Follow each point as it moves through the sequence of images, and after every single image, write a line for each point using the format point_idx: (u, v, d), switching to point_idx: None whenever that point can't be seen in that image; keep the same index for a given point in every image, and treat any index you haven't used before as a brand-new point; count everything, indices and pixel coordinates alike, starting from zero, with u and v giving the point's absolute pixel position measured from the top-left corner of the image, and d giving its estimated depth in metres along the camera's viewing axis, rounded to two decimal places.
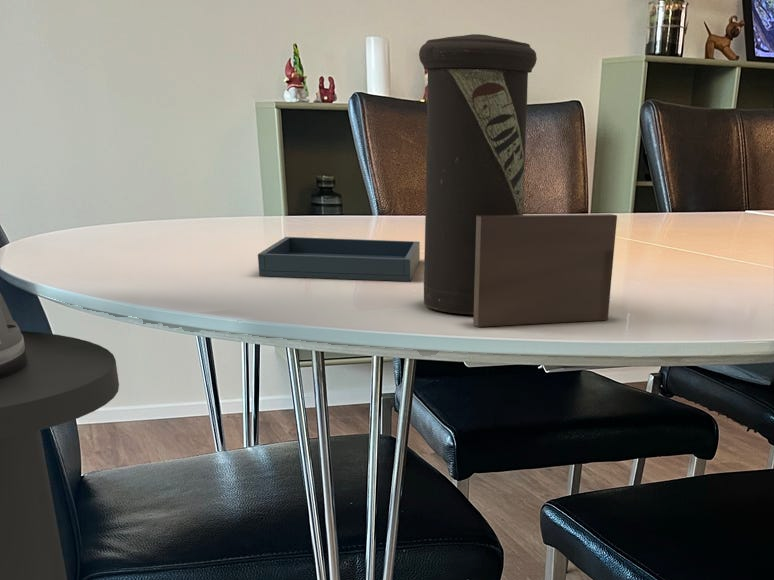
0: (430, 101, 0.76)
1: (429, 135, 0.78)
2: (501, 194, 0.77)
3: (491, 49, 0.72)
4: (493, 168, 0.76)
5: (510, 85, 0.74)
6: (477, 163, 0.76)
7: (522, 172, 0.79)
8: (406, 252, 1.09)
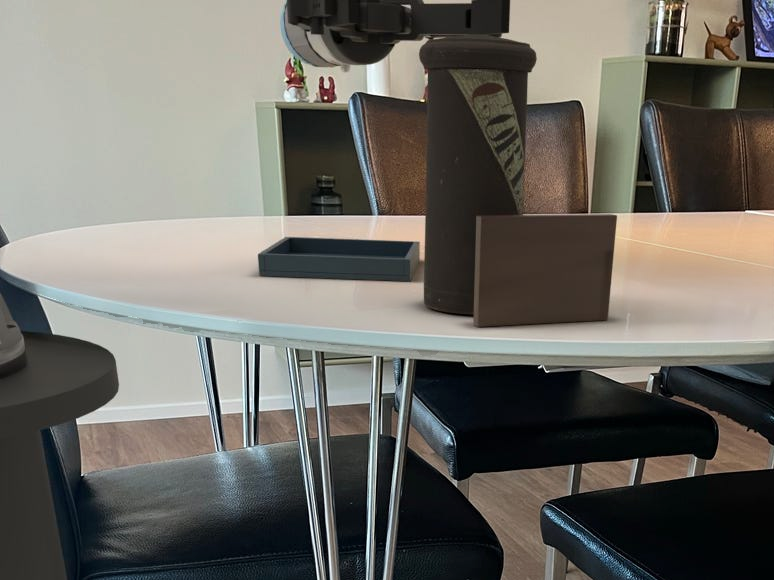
0: (430, 101, 0.76)
1: (429, 135, 0.78)
2: (501, 194, 0.77)
3: (491, 49, 0.72)
4: (493, 168, 0.76)
5: (510, 85, 0.74)
6: (477, 163, 0.76)
7: (522, 172, 0.79)
8: (406, 252, 1.09)
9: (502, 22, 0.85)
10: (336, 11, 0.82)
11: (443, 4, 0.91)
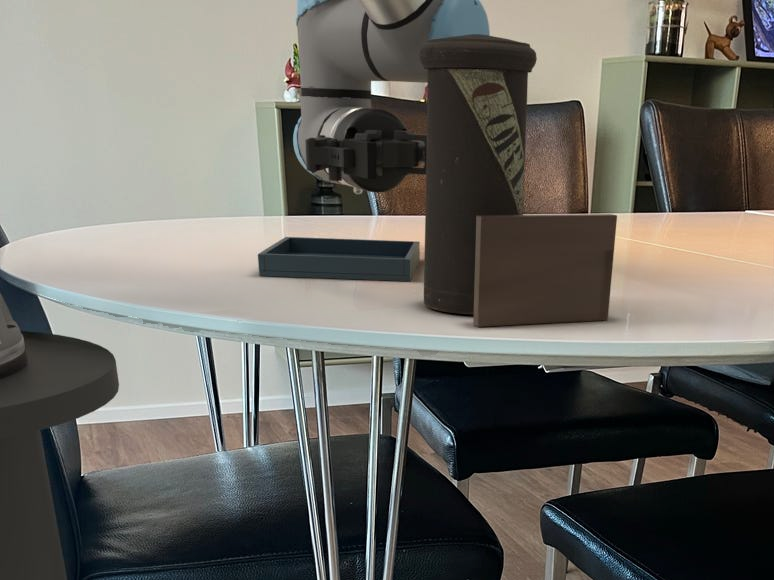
0: (430, 101, 0.76)
1: (429, 135, 0.78)
2: (501, 194, 0.77)
3: (491, 49, 0.72)
4: (493, 168, 0.76)
5: (510, 85, 0.74)
6: (477, 163, 0.76)
7: (522, 172, 0.79)
8: (406, 252, 1.09)
9: None
10: (355, 163, 0.84)
11: None
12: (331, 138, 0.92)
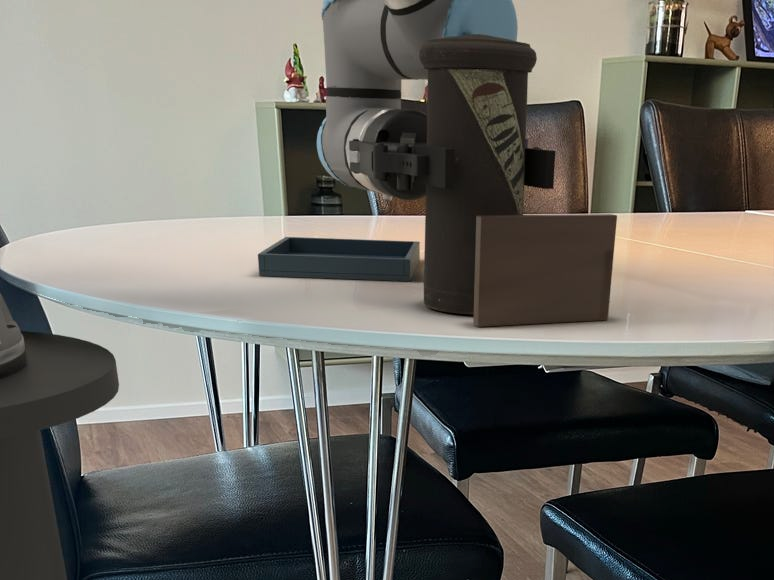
0: (430, 101, 0.76)
1: (429, 135, 0.78)
2: (501, 194, 0.77)
3: (492, 49, 0.72)
4: (493, 169, 0.76)
5: (510, 85, 0.74)
6: (477, 163, 0.76)
7: (522, 172, 0.79)
8: (406, 252, 1.09)
9: (546, 178, 0.78)
10: (429, 171, 0.77)
11: None
12: None
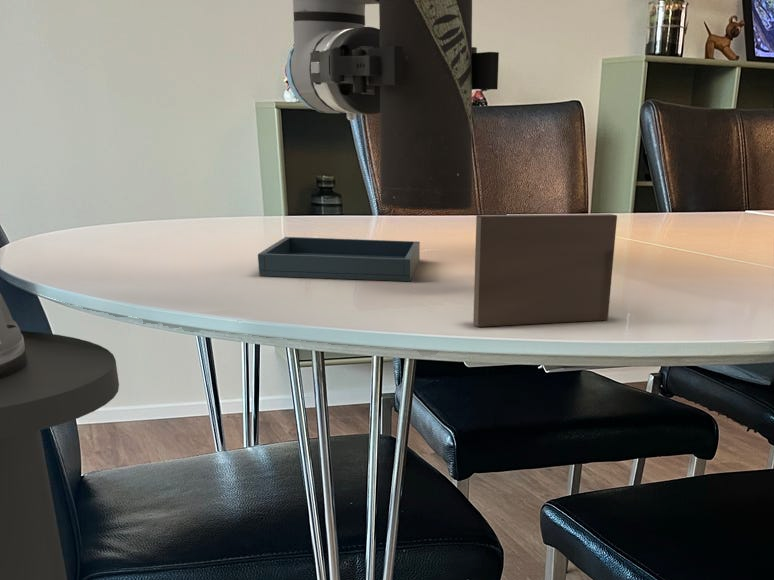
0: (381, 5, 0.82)
1: (381, 38, 0.83)
2: (449, 91, 0.83)
3: None
4: (441, 67, 0.82)
5: None
6: (425, 61, 0.82)
7: (469, 73, 0.84)
8: (406, 252, 1.09)
9: (490, 79, 0.83)
10: (381, 71, 0.82)
11: None
12: None
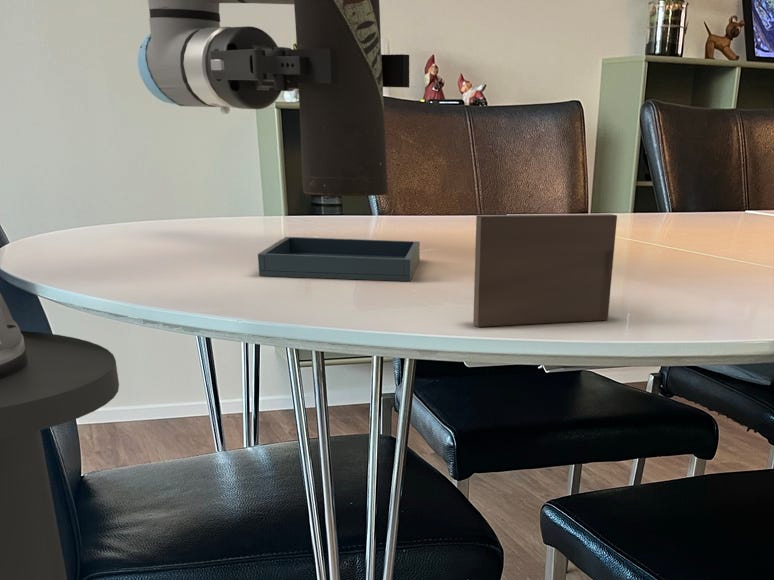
0: (301, 10, 0.90)
1: (302, 40, 0.91)
2: (371, 89, 0.93)
3: None
4: (364, 67, 0.92)
5: None
6: (351, 62, 0.91)
7: None
8: (406, 252, 1.09)
9: (403, 78, 0.94)
10: (309, 71, 0.91)
11: None
12: None
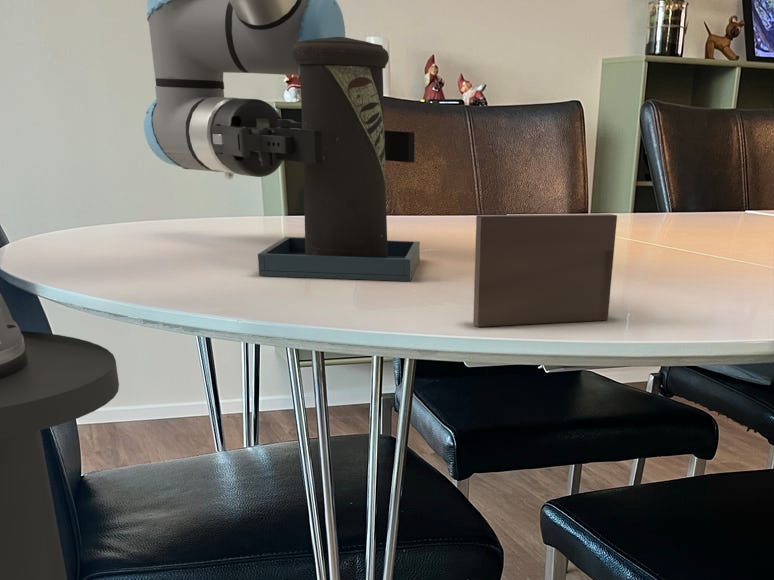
0: (307, 91, 0.93)
1: (308, 119, 0.94)
2: (373, 167, 0.96)
3: (362, 50, 0.90)
4: (367, 146, 0.95)
5: (375, 79, 0.93)
6: (354, 142, 0.94)
7: (384, 149, 0.97)
8: (406, 252, 1.09)
9: (409, 154, 0.99)
10: (295, 150, 0.93)
11: None
12: None
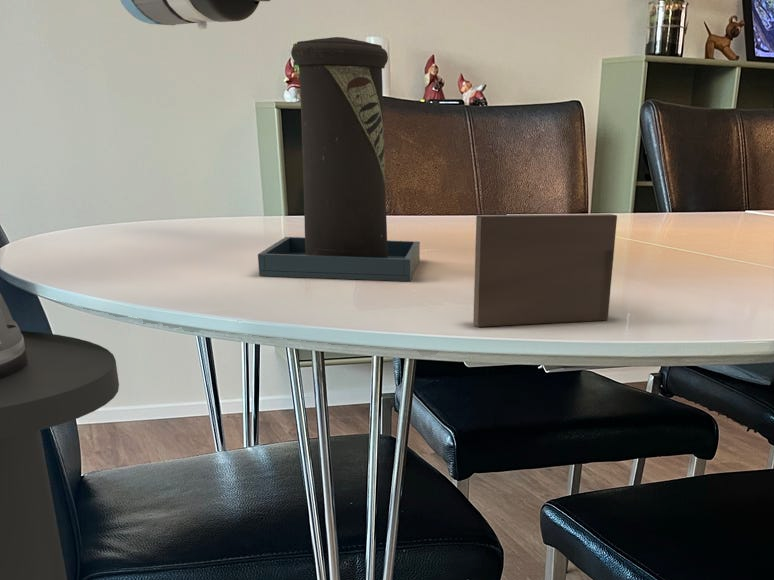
0: (307, 91, 0.93)
1: (307, 119, 0.94)
2: (373, 167, 0.96)
3: (361, 50, 0.90)
4: (366, 146, 0.95)
5: (374, 79, 0.93)
6: (354, 142, 0.94)
7: None
8: (406, 252, 1.09)
9: None
10: None
11: None
12: None
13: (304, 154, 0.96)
